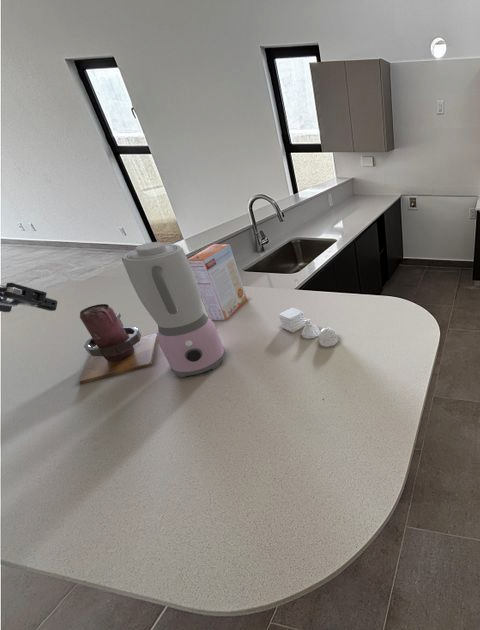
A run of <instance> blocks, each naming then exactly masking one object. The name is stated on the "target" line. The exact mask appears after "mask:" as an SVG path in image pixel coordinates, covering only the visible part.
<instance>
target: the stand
mask: <svg viewBox="0 0 480 630" xmlns="http://www.w3.org/2000/svg"><path fill="white" fill-rule="evenodd" d="M115 314H116V316H117V318H118V319H119V321H120V323H121V325H122V327H123V329H124V330H125V332H126V334H127V336H128V339H127V340H126V341H123V342H121V343H119V344H116V345H113V346H109V347H105V348H98V346H97V345H96V343H95V341H94V340H93V338H92V337H90V338H89V339H87V340H86V341H85V343H84V344H83V348H84V349H85V351H86V352H87V354H89V355H90V357H89V359H88V361H87V363H86V366H85V368H84V369H83V372H82V374H81V376H80V377H79V380H78V382H79V384H80V385H82V384H86V383H90V382H94V381H98V380H102V379H105V378H109V377H114V376H118V375H122V374H125V373H129V372H132V371H137V370H140V369H144V368H148V367H151V366H152V365H153V361H154V356H155V351H156V348H157V347H156V346H157V343H158V332H155V333H151V334H147V335H146V334H145V335H142V334H141V332H140V330H139V329H138V328H137V327H135V326H124V324H123V322H122V320H121V316H122V315H121V313H120V312H117V313H116V312H115ZM130 335H131V336H130ZM132 346H133V347H134V352H133V354H132V355H131V356H129V357H127V358H125V359H123V360H119V361H108V360H106V359H105V358H104V356H108V355H112V354H116V353H119V352H122V351H124V350H126V349H129V348H131V347H132Z"/></svg>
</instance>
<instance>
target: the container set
mask: <svg viewBox="0 0 480 630" xmlns="http://www.w3.org/2000/svg"><path fill="white" fill-rule="evenodd" d="M278 316H279V320H280V323H281V324H280V325H281V328H282V329H285V330H287V331H288V332H291V333H295V332H297V331H299V330H301V329H302V328H303V329H302V330H301V336H302V338H304V339H315V338H316V337H318V340H319V345H320V346H321V347H325V348H326V347H327V348H329V347H332V346H335V345H336V344H337V343H338V334H337V332H336V330H335V329H334V328H333V327H328V326H326V327H324V328H322V329H321V330H320V328H319V327H318V326H316V325H315V324H314V323H313V320H312V319H311V318H306V316H305V313H304V311H303V310H300V309H298V308H295V307H291V308H289V309H286V310H284V311H282V312H280V314H279V315H278Z"/></svg>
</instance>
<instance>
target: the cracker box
mask: <svg viewBox="0 0 480 630" xmlns="http://www.w3.org/2000/svg"><path fill="white" fill-rule="evenodd" d="M187 259H188V261H189V263H190V265H191V268H192V270H193V273H194V276H195V278H196V281H197V284H198V287H199V291H200V296H201V302H202V305H203V307H204V309H205V312H206V314H207V317H208V318H210V319H211V320H212V321H228V320H229V318H230V317H232V316H233V315H234V314H235V313H236V312H237V311H238V310H239V309H240V308H241V307H242V306H243V305H244V304H245V303H246V302H247V301H248V298H247V294H246V291H245V289H244V288H245V287H244V285H243V283H242V282H243V281H242V279H241V275H240V272H239V269H238V267H237V263H236V260H235V257H234V254H233V251H232V247H231V245H230V244H228V243H227V244H219V243H215V244H212V245H210V246H208V247H207V248H205V249H203V250H201V251H200V252H197V253H196V254H195V255H193V256H191V257H189V258H187Z"/></svg>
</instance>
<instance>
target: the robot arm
mask: <svg viewBox="0 0 480 630" xmlns="http://www.w3.org/2000/svg"><path fill="white" fill-rule="evenodd" d="M47 295H48V293H47V292H46V291H43V290H39V289H35V288H32V287H28V286H24V285H22V284H17V283H15V282H7V283H6V285H5V284H0V313H1V312H2V313H11V311H12V309H13V307H18V306H25V307H31V308H36V309H42V310H45V311H47V312H48V311H49V312H55V311H56V310H57V306H58V301H57V300H56V299H53V298H50V297H47ZM8 299H9V300H8Z"/></svg>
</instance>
